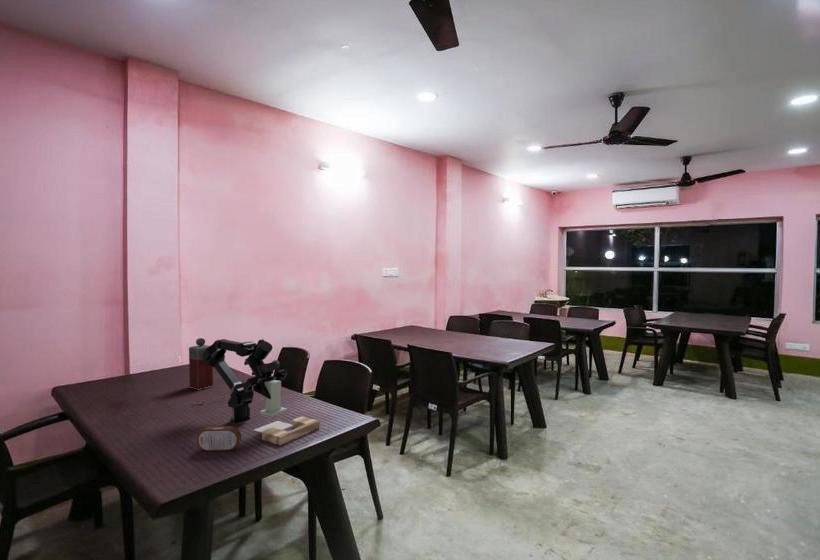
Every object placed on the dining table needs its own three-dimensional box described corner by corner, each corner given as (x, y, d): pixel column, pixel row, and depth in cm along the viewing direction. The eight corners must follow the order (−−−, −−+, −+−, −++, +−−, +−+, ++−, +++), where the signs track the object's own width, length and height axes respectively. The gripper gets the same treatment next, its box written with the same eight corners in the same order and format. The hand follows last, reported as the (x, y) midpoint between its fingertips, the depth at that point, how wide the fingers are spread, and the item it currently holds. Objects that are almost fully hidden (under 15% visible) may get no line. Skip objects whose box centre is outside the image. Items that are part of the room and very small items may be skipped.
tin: (241, 447, 151) (241, 424, 151) (238, 451, 148) (238, 428, 148) (200, 448, 151) (199, 425, 151) (196, 452, 148) (195, 429, 148)
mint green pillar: (259, 413, 168) (259, 382, 168) (275, 407, 175) (275, 378, 175) (271, 416, 164) (270, 385, 164) (287, 410, 171) (286, 380, 171)
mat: (253, 430, 167) (253, 429, 167) (277, 421, 178) (277, 420, 178) (269, 435, 162) (269, 434, 162) (293, 426, 172) (293, 425, 172)
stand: (262, 439, 158) (262, 431, 158) (301, 423, 175) (301, 416, 175) (280, 445, 153) (280, 437, 153) (319, 428, 170) (319, 420, 169)
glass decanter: (202, 383, 241) (201, 336, 241) (213, 386, 235) (212, 337, 234) (187, 387, 234) (186, 338, 233) (197, 390, 227) (196, 339, 227)
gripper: (247, 358, 163) (265, 390, 158) (284, 350, 179) (302, 379, 173) (235, 375, 168) (252, 407, 162) (272, 366, 184) (289, 395, 178)
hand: (275, 396), depth 169 cm, fingers closed on mint green pillar, 5 cm apart
